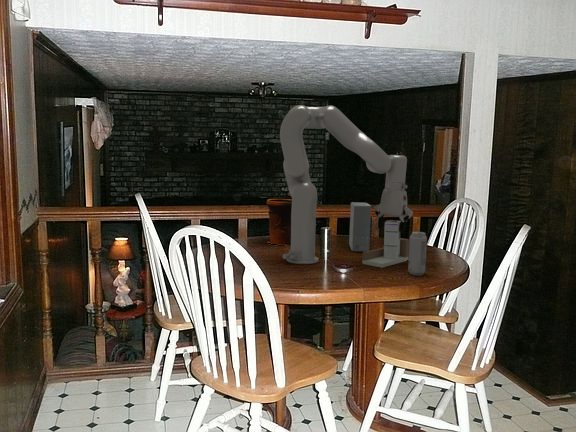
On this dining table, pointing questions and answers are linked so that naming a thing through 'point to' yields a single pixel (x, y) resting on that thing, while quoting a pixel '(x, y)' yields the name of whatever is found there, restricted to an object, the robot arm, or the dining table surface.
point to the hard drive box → (360, 226)
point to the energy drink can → (417, 253)
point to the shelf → (378, 258)
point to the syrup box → (392, 239)
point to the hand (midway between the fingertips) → (391, 229)
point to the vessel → (280, 221)
